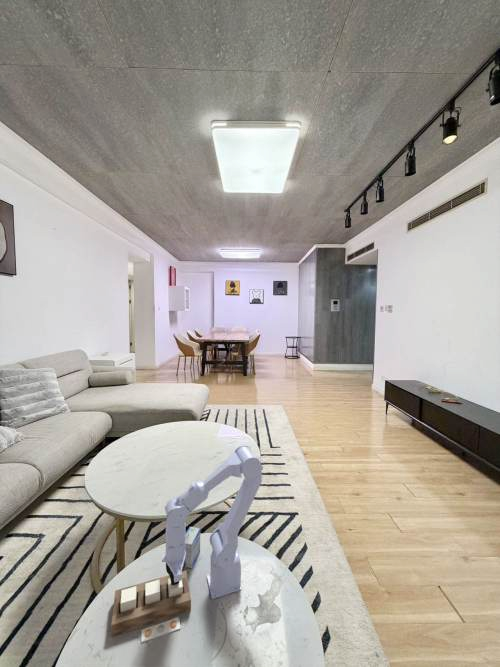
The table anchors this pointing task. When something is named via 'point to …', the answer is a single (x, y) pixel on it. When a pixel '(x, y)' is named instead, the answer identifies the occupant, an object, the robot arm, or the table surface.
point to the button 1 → (128, 599)
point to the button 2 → (174, 589)
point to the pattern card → (160, 629)
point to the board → (149, 607)
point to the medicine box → (192, 546)
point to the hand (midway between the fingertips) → (175, 582)
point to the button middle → (152, 592)
